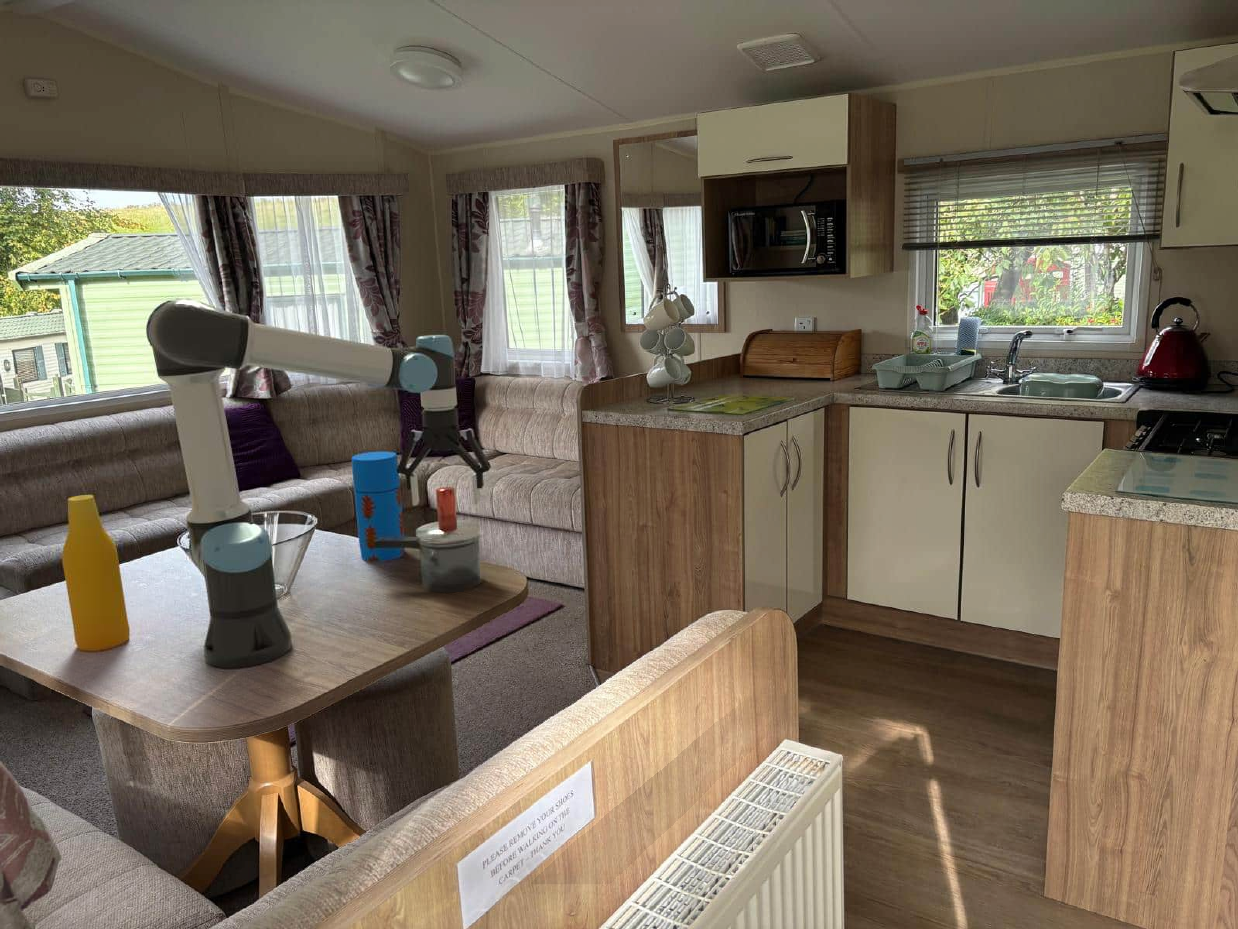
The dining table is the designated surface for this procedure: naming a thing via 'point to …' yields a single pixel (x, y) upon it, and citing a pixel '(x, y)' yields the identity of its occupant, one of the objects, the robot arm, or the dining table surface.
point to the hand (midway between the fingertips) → (446, 503)
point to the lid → (447, 523)
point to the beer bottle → (93, 579)
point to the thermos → (377, 503)
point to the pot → (443, 562)
